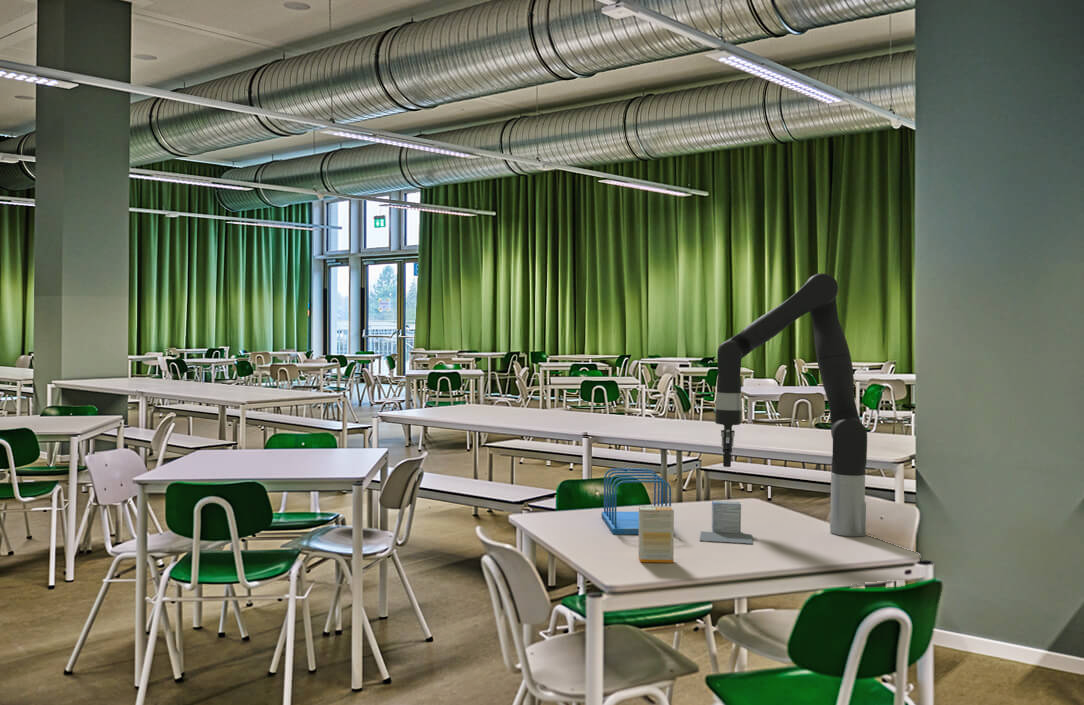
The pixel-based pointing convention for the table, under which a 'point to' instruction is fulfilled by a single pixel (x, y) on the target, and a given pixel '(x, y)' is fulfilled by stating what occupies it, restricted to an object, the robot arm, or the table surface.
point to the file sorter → (629, 520)
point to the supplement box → (656, 534)
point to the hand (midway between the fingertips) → (726, 466)
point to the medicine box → (726, 517)
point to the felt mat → (726, 537)
